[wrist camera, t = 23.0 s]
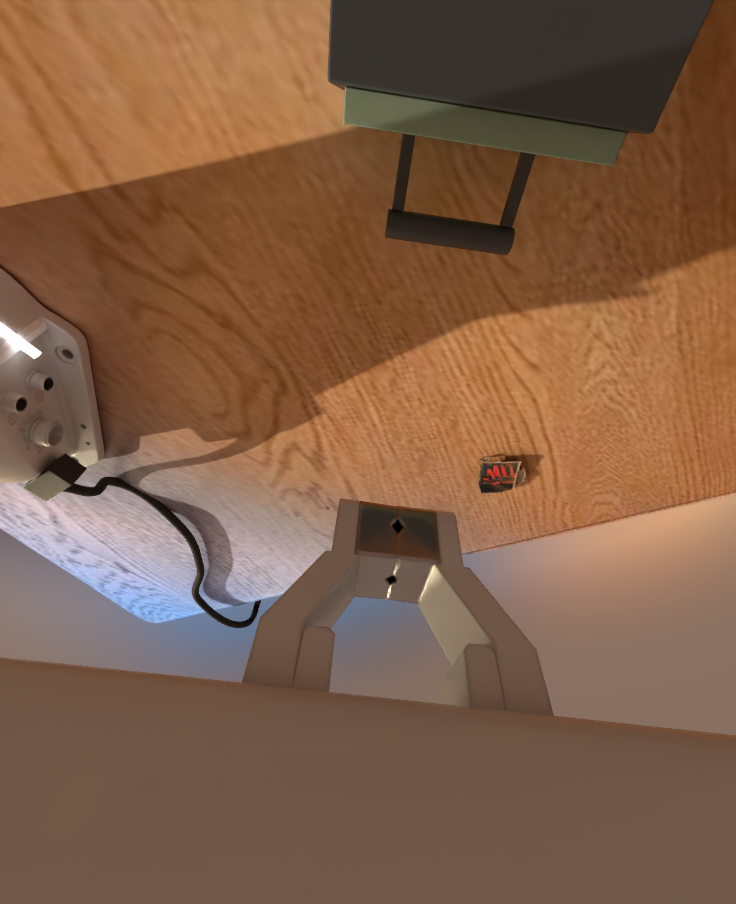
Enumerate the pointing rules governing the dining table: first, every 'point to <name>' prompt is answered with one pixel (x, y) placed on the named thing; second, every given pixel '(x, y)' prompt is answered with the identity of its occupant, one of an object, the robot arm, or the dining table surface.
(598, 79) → the black storage box
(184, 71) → the dining table surface
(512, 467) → the matchbox
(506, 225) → the drawer
